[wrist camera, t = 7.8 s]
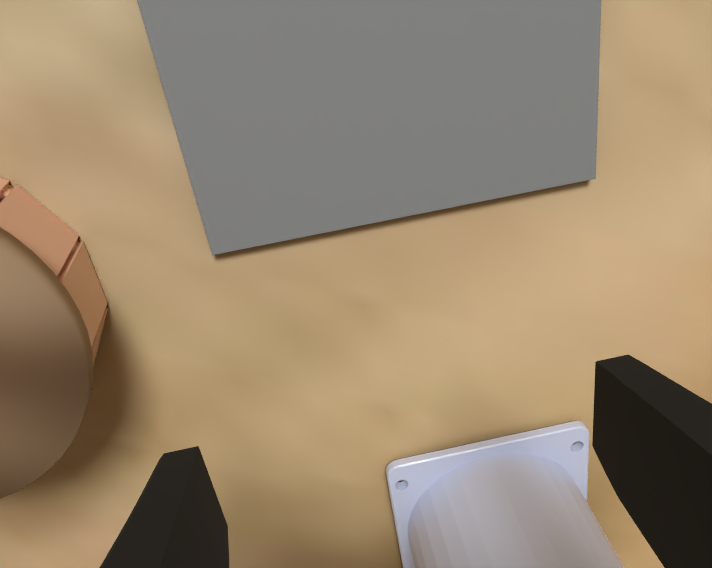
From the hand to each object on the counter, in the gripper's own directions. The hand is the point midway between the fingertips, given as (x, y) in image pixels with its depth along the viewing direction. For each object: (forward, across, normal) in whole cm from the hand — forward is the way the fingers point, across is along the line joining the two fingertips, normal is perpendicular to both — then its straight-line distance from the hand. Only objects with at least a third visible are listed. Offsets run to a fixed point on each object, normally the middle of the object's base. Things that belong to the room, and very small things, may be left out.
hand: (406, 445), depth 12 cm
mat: (+10, -2, -6) cm, 12 cm away
